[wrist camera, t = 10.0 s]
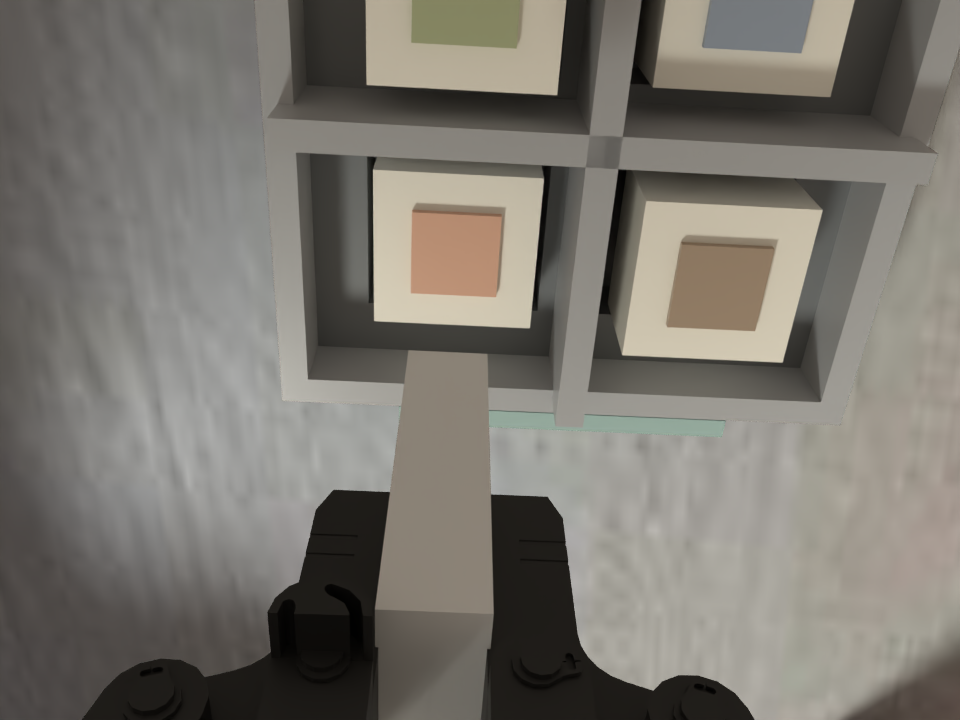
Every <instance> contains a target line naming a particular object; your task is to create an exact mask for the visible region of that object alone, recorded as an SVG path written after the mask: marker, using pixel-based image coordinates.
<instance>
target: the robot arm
mask: <svg viewBox="0 0 960 720" xmlns="http://www.w3.org/2000/svg"><path fill="white" fill-rule="evenodd" d="M565 543H566V541H565V533H564V525H563V518H562V517H561V515H560V514H559V512H558V511H557V510H556V508H555V507H554V505H553V504H552V503H551V501H550V500H549V498H548V497H538V496H514V495H491V483H490V442H489V400H488V359H487V354H479V353H458V352H437V351H416V350H408V358H407V366H406V373H405V381H404V389H403V396H402V404H401V412H400V420H399V427H398V435H397V443H396V450H395V458H394V466H393V474H392V481H391V489H390V492H372V491H348V490H333V491H332V492H331V493H330V495H329V496H328V497H327V498H326V499H325V500H324V501H323V503H322V504H321V505H320V506H319V507H318V508H317V509H316V512H315V516H314V520H313V525H312V529H311V533H310V538H309V542H308V546H307V550H306V557H305V559H304V563H303V567H302V571H301V575H300V580H299V583H296V584H294V585H291V586H289V587H288V588H287V589H285V590H284V591H283V592H282V593H281V594H279V595H278V596H277V597H276V598H275V599H274V601H273V603H272V605H271V607H270V609H269V611H268V612H267V613H268V624H269V635H270V647H271V652H270V653H269V654H268V655H267V656H266V657H264V658H263V659H261V660H259V661H257V662H255V663H254V664H252V665H250V666H247V667H244V668H241V669H238V670H234V671H230V672H226V673H222V674H218V675H213V676H209V677H205V678H204V676H203V675H202V674H201V672H200V671H199V670H198V669H197V667H194V666H192V665H190V664H188V663H186V662H184V661H181V660H172V659H157V660H153V661H149V662H144V663H140V664H138V665H136V666H134V667H132V668H130V669H129V670H127V671H125V672H123V673H121V674H120V675H119V676H118V677H116V678H115V679H114V680H113V681H112V682H111V683H110V684H109V685H108V686H107V687H106V688H105V689H104V691H103V692H102V693H101V695H100V696H99V697H98V699H97V700H96V701H95V703H94V704H93V706H92V707H91V708H90V710H89V711H88V712H87V714H86V715H85V716H84V718H83V719H82V720H754V718H753V716H752V715H751V713H750V711H749V710H748V708H747V707H746V706H745V705H744V703H743V702H742V701H741V700H740V699H739V697H738V696H737V695H736V694H735V693H734V692H732V691H731V690H729V689H728V688H726V687H725V686H723V685H722V684H720V683H719V682H717V681H714V680H710V679H707V678H704V677H701V676H688V675H678V676H676V677H673V678H670V679H668V680H665V681H662V682H661V683H660V684H659V686H658V687H657V688H656V689H655V690H654V691H652V690H649V689H646V688H643V687H640V686H636V685H633V684H630V683H627V682H624V681H622V680H620V679H617V678H615V677H612V676H610V675H609V674H607V673H606V672H604V671H603V670H601V669H600V668H598V667H597V666H596V665H595V664H594V663H593V662H592V661H591V660H590V659H589V658H588V657H587V655H586V653H585V652H584V650H583V648H582V647H581V644H580V641H579V637H578V634H577V626H576V618H575V611H574V603H573V595H572V587H571V580H570V572H569V566H568V556H567V548H566V546H565Z"/></svg>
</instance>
